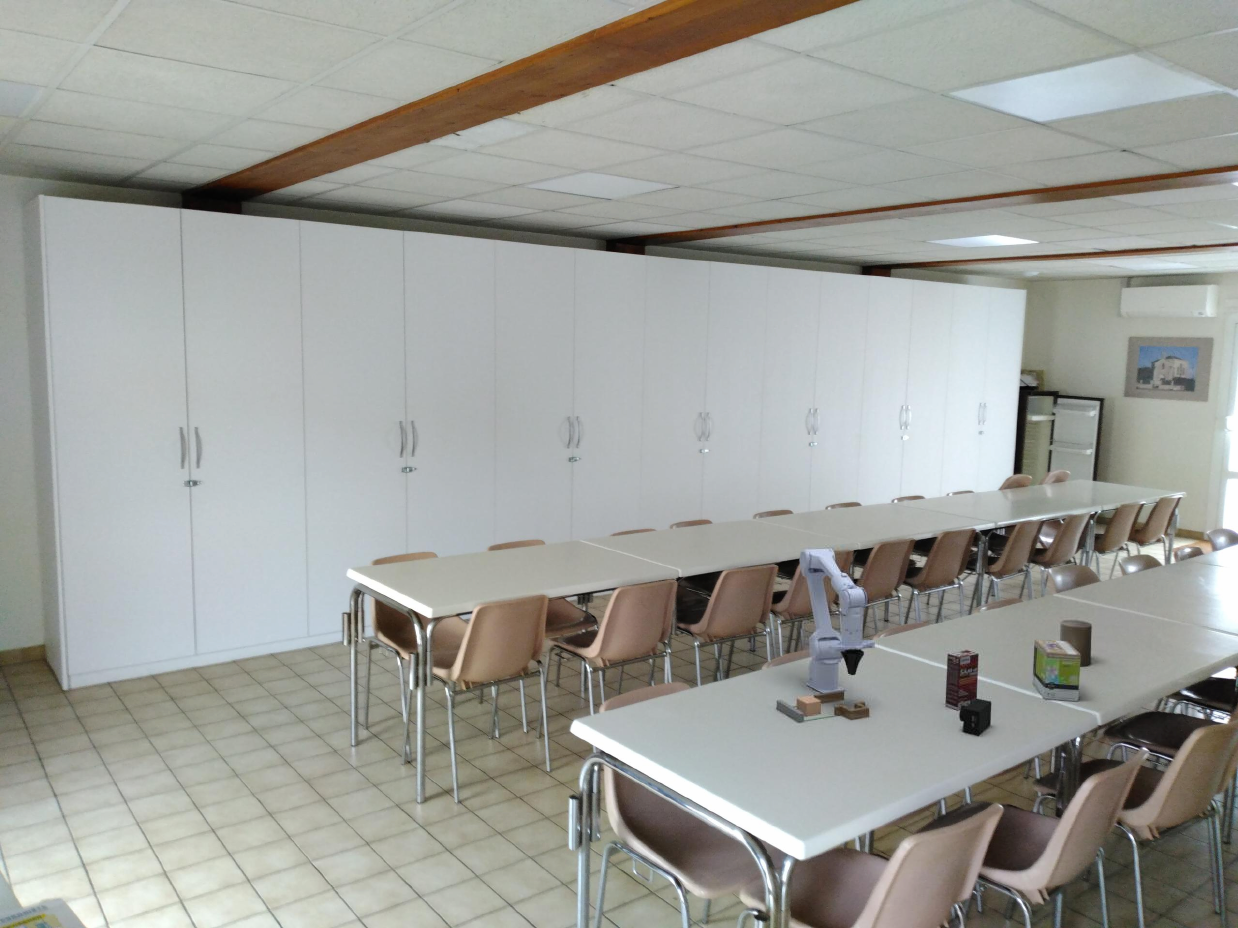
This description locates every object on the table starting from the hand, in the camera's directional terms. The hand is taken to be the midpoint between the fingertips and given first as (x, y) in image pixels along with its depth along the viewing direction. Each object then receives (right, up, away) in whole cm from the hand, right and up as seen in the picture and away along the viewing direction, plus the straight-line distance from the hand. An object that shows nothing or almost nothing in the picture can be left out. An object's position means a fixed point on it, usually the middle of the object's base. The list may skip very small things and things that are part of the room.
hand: (851, 673), depth 266 cm
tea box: (+66, -9, +13) cm, 68 cm away
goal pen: (-14, -10, -4) cm, 17 cm away
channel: (-3, -10, -1) cm, 11 cm away
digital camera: (+30, -12, -16) cm, 36 cm away
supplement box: (+33, -10, +1) cm, 34 cm away
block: (-14, -11, -4) cm, 17 cm away
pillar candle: (+87, -6, +43) cm, 97 cm away
